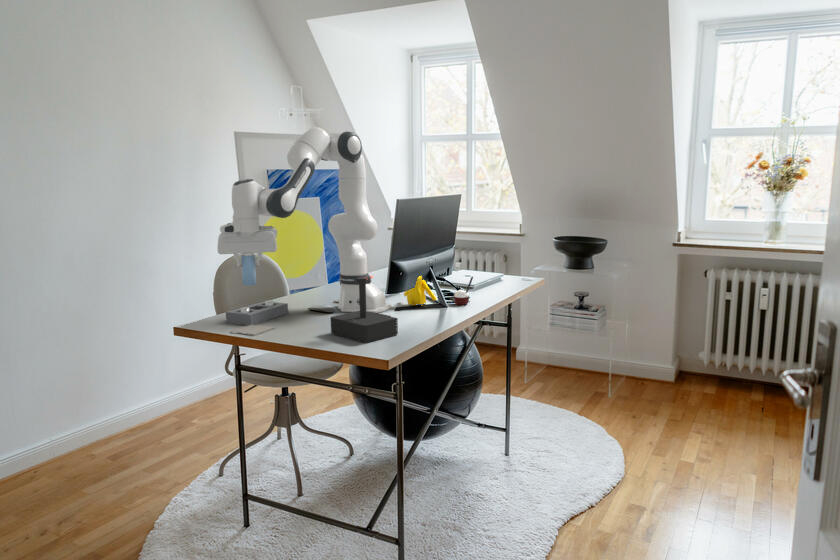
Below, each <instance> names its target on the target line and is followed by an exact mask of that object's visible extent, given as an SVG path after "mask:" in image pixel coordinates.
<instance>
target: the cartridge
mask: <svg viewBox="0 0 840 560" xmlns="http://www.w3.org/2000/svg"><path fill="white" fill-rule="evenodd" d="M255 256H256V255H255V253H241V255H240V257H241V258H240V261H242V266H241V275H242V276H241V277H242V278H241V279H242V286H255V285H257V273H256V266H255V260H256V258H255Z"/></svg>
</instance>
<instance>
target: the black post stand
mask: <svg viewBox="0 0 840 560" xmlns="http://www.w3.org/2000/svg"><path fill="white" fill-rule="evenodd" d="M357 283H358V284H359V299H360V311H356V312H347V313H342V314H339V315H334V316H331V317H330V332H331V334H332V335H335V336H338V337H339V336H340V337H343V338H347V339H350V340H354V341H358V342H361V343H364V344H365V343H366V344H367V343H371V342H374V341H377V340H378V341H379V340H382V339H383V340H384V339H387V338H389V337H394V336H397V335H398V334H399V330H398V329H399V323H398V318H397V317H394V316H391V315H387V314H383V313H380V312H378V313H375V312H368V311H366V283H367V278H366V277H360V278H357Z"/></svg>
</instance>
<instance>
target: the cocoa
mask: <svg viewBox="0 0 840 560" xmlns="http://www.w3.org/2000/svg"><path fill="white" fill-rule="evenodd" d="M473 279H474V276H471V277H470V280H469V282H468V285H467V288H466V290H463V289H459V290H457V291H455V292H454V294H453V296H451V297H450V300H451V302H453V303H454V304H456V305H457V306H460V305H463V306H466V305H468V303H469V300H470V294H469V290H470V287H471V284H472V281H473ZM465 304H466V305H465Z"/></svg>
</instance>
